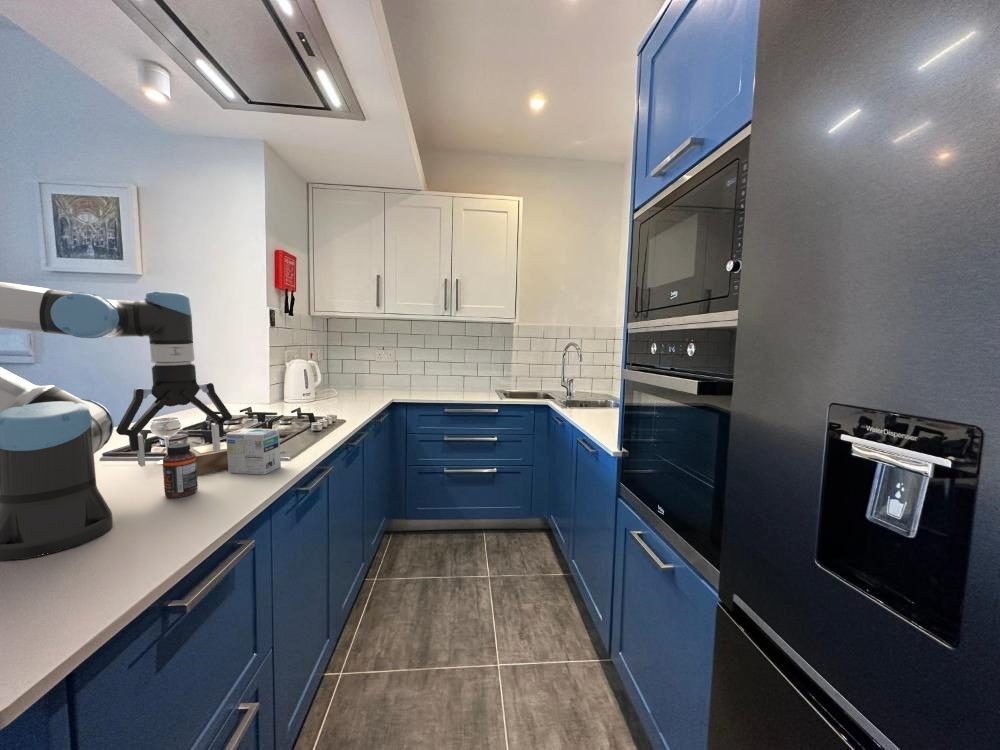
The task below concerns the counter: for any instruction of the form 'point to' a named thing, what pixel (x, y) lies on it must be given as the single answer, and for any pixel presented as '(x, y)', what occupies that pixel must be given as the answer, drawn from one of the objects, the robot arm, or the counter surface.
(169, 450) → the supplement bottle
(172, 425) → the wineglass
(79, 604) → the counter surface
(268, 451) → the light bulb box
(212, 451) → the walnut riser
